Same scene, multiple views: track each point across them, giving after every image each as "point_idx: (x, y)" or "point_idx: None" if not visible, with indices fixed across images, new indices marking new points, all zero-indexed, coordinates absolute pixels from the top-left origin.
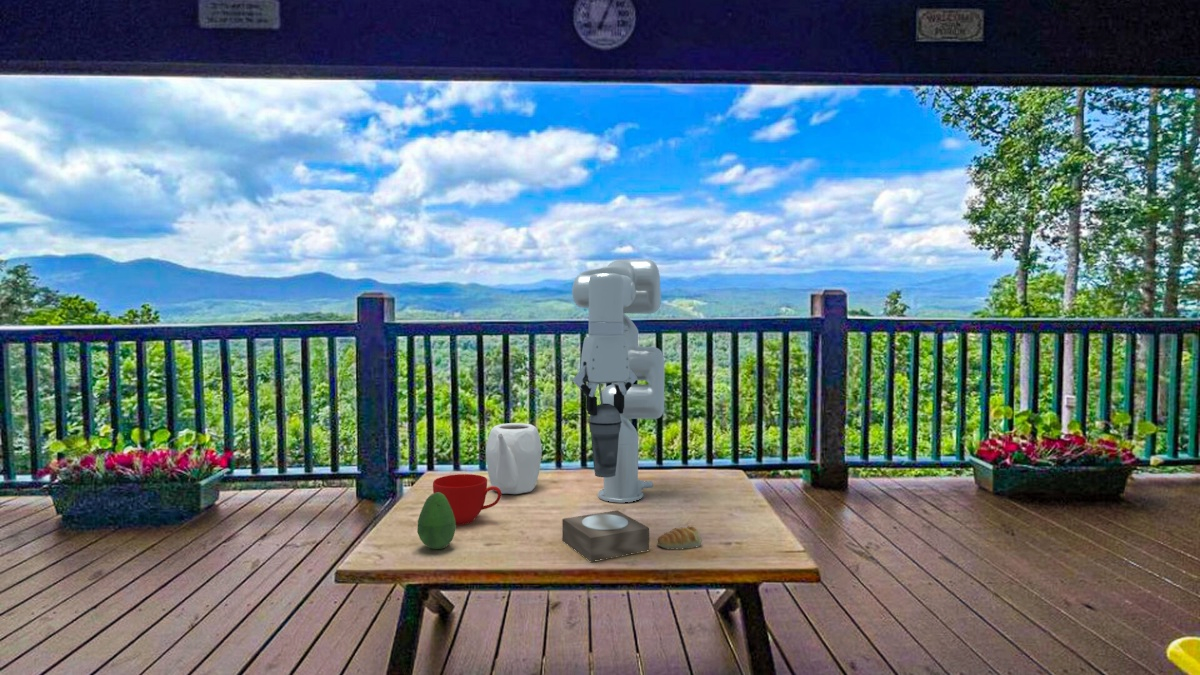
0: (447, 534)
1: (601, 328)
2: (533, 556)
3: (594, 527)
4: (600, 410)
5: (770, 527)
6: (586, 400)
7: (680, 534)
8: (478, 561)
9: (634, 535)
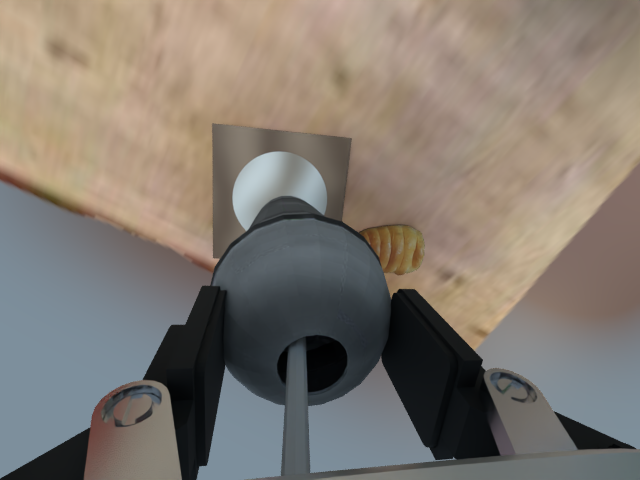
0: None
1: None
2: (135, 169)
3: (242, 222)
4: (246, 386)
5: (547, 254)
6: (147, 373)
7: (386, 265)
8: (17, 136)
9: None
